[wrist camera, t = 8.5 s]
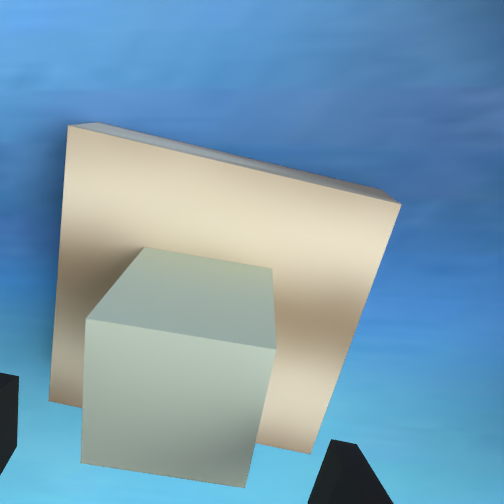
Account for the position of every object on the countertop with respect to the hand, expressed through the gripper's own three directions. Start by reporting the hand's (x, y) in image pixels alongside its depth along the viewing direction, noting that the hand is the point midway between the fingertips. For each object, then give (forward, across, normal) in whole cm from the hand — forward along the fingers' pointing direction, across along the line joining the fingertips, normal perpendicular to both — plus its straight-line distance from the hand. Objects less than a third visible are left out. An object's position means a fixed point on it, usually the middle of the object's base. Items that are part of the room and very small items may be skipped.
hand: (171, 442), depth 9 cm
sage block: (+6, 0, 0) cm, 6 cm away
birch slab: (+9, 0, 0) cm, 9 cm away
